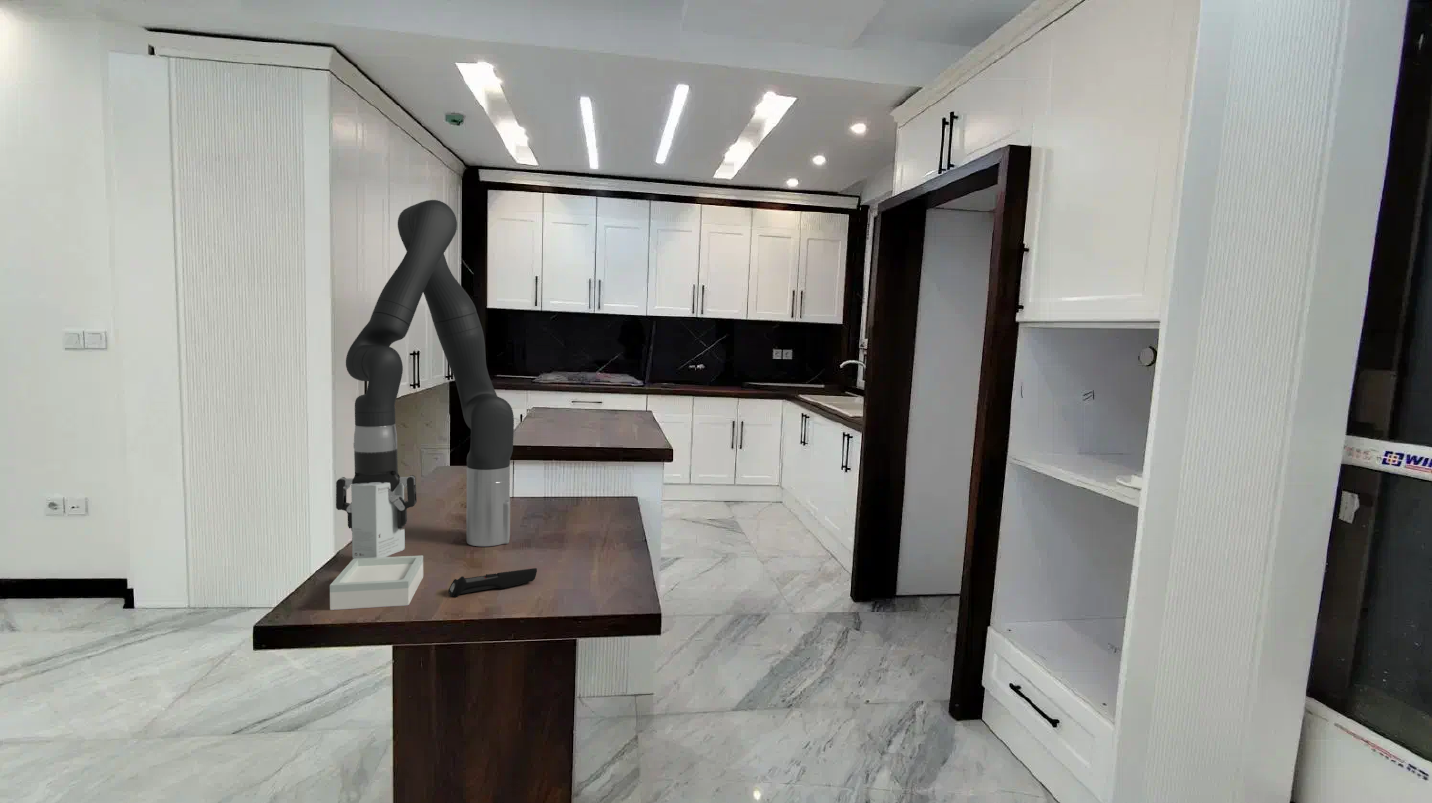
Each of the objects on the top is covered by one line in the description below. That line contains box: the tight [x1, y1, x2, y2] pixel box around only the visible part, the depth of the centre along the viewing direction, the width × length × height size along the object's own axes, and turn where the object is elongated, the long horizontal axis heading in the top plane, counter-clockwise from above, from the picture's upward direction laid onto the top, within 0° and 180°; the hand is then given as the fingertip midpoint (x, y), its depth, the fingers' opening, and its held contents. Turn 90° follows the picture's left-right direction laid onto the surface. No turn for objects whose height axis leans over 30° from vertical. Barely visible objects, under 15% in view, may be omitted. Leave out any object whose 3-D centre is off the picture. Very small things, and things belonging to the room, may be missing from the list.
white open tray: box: [329, 554, 424, 611], centre depth 117 cm, size 12×14×4 cm
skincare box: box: [350, 482, 406, 559], centre depth 131 cm, size 8×6×15 cm
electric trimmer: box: [448, 567, 538, 598], centre depth 121 cm, size 4×16×3 cm, turn 121°
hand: (377, 528), depth 130 cm, fingers closed on skincare box, 8 cm apart
